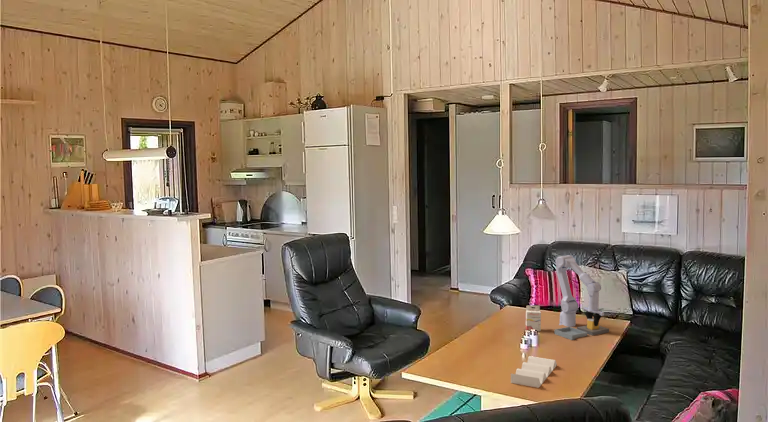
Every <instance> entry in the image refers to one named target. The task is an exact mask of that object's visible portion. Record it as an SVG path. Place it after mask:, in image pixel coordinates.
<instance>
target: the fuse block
mask: <svg viewBox="0 0 768 422" xmlns="http://www.w3.org/2000/svg"><path fill="white" fill-rule="evenodd" d="M576 329H578V330H581V331H584V332H587V335H589V336H597V335H602V334H606V333H610V328H607V327H606V326H605V327H604V326H601V325H599V329H594V330H591V329H588V328H587V324H586V325H583V326H582V325H581V326H576Z"/></svg>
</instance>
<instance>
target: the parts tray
mask: <svg viewBox="0 0 768 422" xmlns="http://www.w3.org/2000/svg"><path fill="white" fill-rule="evenodd" d="M554 335H556V336H559V337H562V338H565V339H568V340H570V341H574V340H576V339H579V338H583V337H588V334H587V332H584V331H581V330H578V329H577V328H575V327H568V326H565V327H561V328H556V329H554Z"/></svg>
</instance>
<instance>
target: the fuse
mask: <svg viewBox="0 0 768 422" xmlns="http://www.w3.org/2000/svg"><path fill="white" fill-rule="evenodd" d="M586 319H587V318H586ZM586 325H587V328H588V329H591V330H594V329H599V326H600V322H599V323H598V326H594V317H592V318H590V319H587V320H586Z"/></svg>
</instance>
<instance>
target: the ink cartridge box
mask: <svg viewBox="0 0 768 422" xmlns="http://www.w3.org/2000/svg"><path fill="white" fill-rule="evenodd" d="M525 308H526V309H525V330H526V331H527V330H529V329H535V330H537V331H536V332H541V330H542V327H541V326H542V325H541V324H542V312H541V310H540V309H541V306H540V305H526V307H525Z"/></svg>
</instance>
